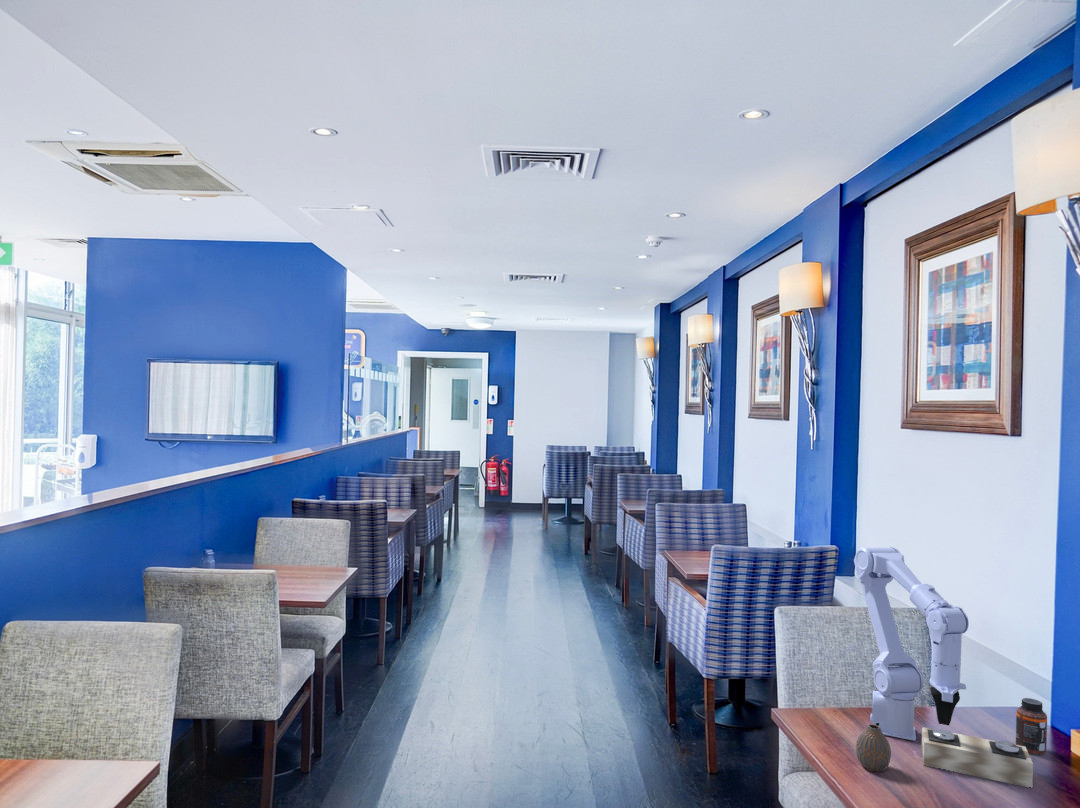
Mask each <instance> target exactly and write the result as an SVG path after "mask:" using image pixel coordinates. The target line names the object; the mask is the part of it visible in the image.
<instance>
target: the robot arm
mask: <svg viewBox="0 0 1080 808" xmlns="http://www.w3.org/2000/svg"><path fill="white" fill-rule="evenodd" d="M853 562H854V566H855V571H856V575H857V578H858V581H859V583H860V585H861V589H862V591H863V597H864V600H865V603H866V606H867V610H868V615H869V617H870V622H871V625H872V629H873V632H874V637H875V640H876V644H877V648H878V651H879V656H877V658H876V659H875V660H874V661H873V662H872V668H873V683H874V685H875V687H876V689H877V690H872V708H871V709H872V710H871V713H870V718H869V720H870V722H871V724H874V725H877V726H879V727H880V728H881V731H882V733H883V734H884V736H888V737H893V738H897V739H903V740H909V741H915V742H916V741H917V736H916V735H917V734H916V727H915V698H918V696H919V695H918V694H919V693H921V692H922V691H923V688H924V678H923V674H922V673H921V671H920V670H919V667H918V665H917V663H916V661H915V659H914V658H913V657H912V656H911V655H909V654H908V653H906V652H905V651H904V650H903V649H904V648H903V645H902V642H901V637H900V635H899V631H898V628H897V625H896V621H895V618H894V614H893V611H892V610H893V609H892V606H891V604H890V600H889V597H888V593H887V590H886V587H887V586H888V584H889V583H891V582H892V581H893V580H895V581H896V582H897V583H898V584H899V585H900V586H902V587H903V589H905V590H906V591H907V592H908V593H909V600H910V602H911V603H912V604H913V606H915V607H916V609H918V611H920V612H921V614H922V615H923V616H924V617H925V620H926V624H927V627H928V630H929V637H930V640H931V656H930V657H931V659H930V678H929V684H930V685H931V686H930V687H929V691H930V694H931V697H932V698H933V701H934V705H935V711H936V712H935V713H936V718H937V722H938V724H939V725H944V726H950V724H951V721H952V718H953V713H954V710H955V708H956V706H957V705H958V703H959V701H960V700H961V696H960V692H959V691H960V690H967V685H966V683H963V682H962V683H961V661H962V639H963V638H962V637H963V636H962V635H963V634H965V633H966V632H967V631H968V630H969V624H970V623H969V618H968V615H967V613H966V612H965V611H964V609H963V607H960V606H954V605H953V604H950V603H949V602H948V601H947V600H946V599H944V598H943V597H942V596H941V594H939V592H937V591H936V588H935V587H934V586H933V585H931V584H928V583H922V582H921V581H920V580H919V579H918V577H917V576H916V575H915V574H914V572H913V571H912V570H911V569H910V567H908V565H907V564H906V562H905V558H904V555H903V554H902V553H901V552H900V551H899V549H898V548H896V547H894V546H893V547H892V546H890V547H866V546H862V547H859V548H858V549H857V551H856V553H855V556H854V559H853Z"/></svg>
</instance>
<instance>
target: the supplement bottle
mask: <svg viewBox="0 0 1080 808" xmlns="http://www.w3.org/2000/svg"><path fill="white" fill-rule="evenodd" d="M1015 714H1016V715H1015V716H1016V717H1015V718H1016V719H1015V745H1019V746H1025V747H1026V749H1027V751H1028V753H1029V754H1030V753H1031V755H1036V754H1038V756H1039V755H1040V756H1041V754H1042V755H1045V754H1046V753H1047V739H1048V738H1047V734H1048V733H1047V732H1048V716H1047V713H1046V712H1045V711H1044V710H1043V702H1042V701H1040V700H1038V699H1035V698H1030V697H1023V698H1021V706H1019V707H1017V708H1016V713H1015Z"/></svg>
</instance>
